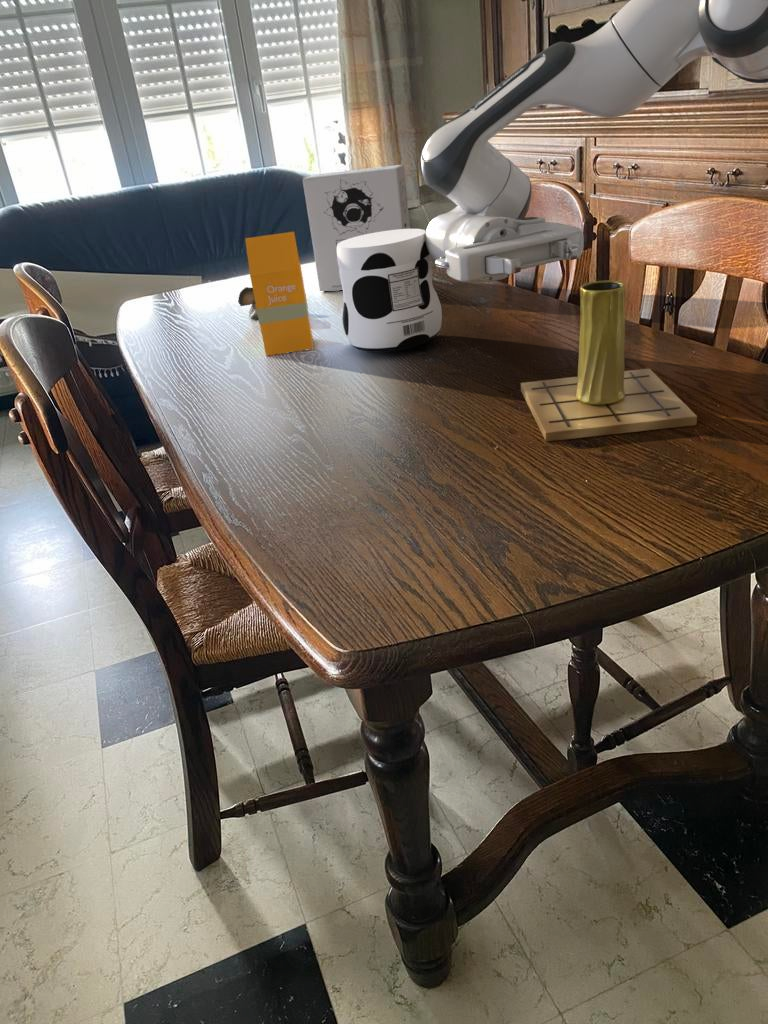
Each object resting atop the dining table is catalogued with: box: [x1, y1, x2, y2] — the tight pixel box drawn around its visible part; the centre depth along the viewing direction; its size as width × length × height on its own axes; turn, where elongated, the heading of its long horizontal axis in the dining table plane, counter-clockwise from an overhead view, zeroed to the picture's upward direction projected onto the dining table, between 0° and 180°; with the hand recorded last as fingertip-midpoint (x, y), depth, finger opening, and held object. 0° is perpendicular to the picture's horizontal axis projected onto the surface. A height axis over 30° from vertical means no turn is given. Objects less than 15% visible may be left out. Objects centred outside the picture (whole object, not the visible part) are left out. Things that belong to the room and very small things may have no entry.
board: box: [520, 367, 698, 443], centre depth 97 cm, size 18×18×1 cm
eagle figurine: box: [237, 286, 259, 322], centre depth 163 cm, size 8×7×9 cm
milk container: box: [337, 228, 443, 353], centre depth 128 cm, size 17×17×18 cm
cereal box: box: [302, 164, 411, 292], centre depth 171 cm, size 22×8×25 cm, turn 77°
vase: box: [576, 279, 627, 405], centre depth 94 cm, size 6×6×14 cm
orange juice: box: [244, 231, 314, 357], centre depth 134 cm, size 8×9×20 cm
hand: (546, 259), depth 99 cm, fingers open, 8 cm apart
